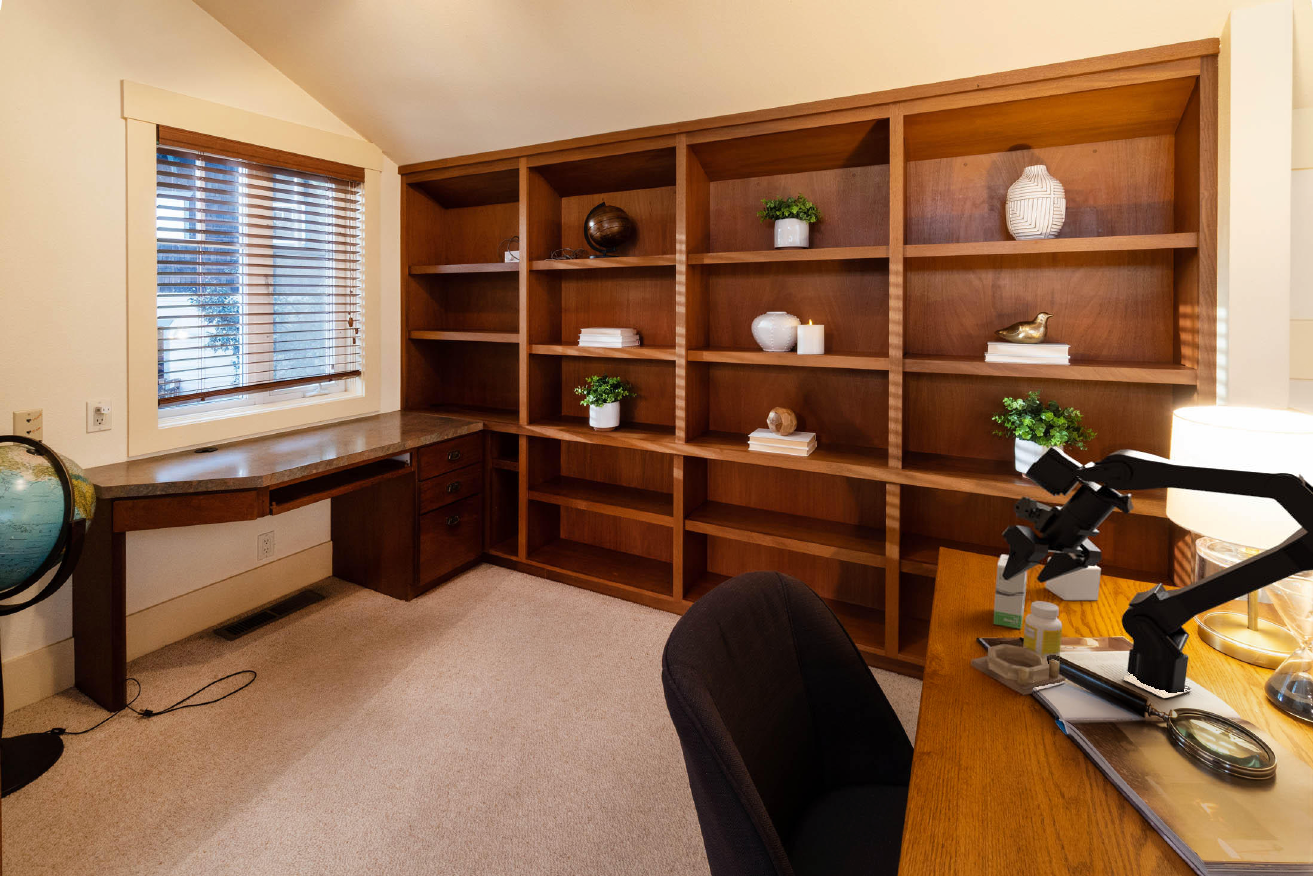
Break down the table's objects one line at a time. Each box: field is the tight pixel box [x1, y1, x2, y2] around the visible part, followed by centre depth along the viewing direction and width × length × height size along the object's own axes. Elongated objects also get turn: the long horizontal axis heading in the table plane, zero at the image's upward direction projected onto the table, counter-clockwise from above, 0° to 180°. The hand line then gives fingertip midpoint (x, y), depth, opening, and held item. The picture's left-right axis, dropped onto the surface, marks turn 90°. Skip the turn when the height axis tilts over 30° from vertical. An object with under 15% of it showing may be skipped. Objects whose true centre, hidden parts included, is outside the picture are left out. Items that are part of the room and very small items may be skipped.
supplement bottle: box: [1022, 600, 1063, 657], centre depth 111 cm, size 5×5×10 cm
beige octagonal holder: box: [970, 643, 1066, 696], centre depth 107 cm, size 10×9×3 cm
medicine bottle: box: [1045, 556, 1102, 601], centre depth 139 cm, size 7×7×12 cm
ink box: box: [993, 554, 1028, 630], centre depth 127 cm, size 9×5×12 cm, turn 148°
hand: (1022, 579), depth 116 cm, fingers open, 9 cm apart
